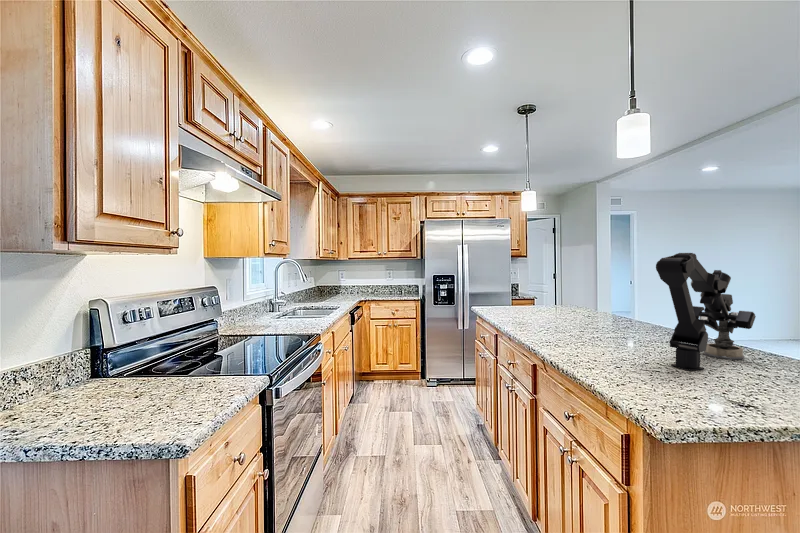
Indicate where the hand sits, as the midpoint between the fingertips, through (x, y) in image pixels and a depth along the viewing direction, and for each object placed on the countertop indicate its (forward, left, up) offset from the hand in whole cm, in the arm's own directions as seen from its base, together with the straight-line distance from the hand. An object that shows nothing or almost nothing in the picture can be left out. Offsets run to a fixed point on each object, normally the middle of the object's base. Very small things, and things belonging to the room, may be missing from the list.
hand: (725, 331), depth 144 cm
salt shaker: (-1, -1, -7) cm, 7 cm away
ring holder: (-1, 0, -9) cm, 9 cm away
